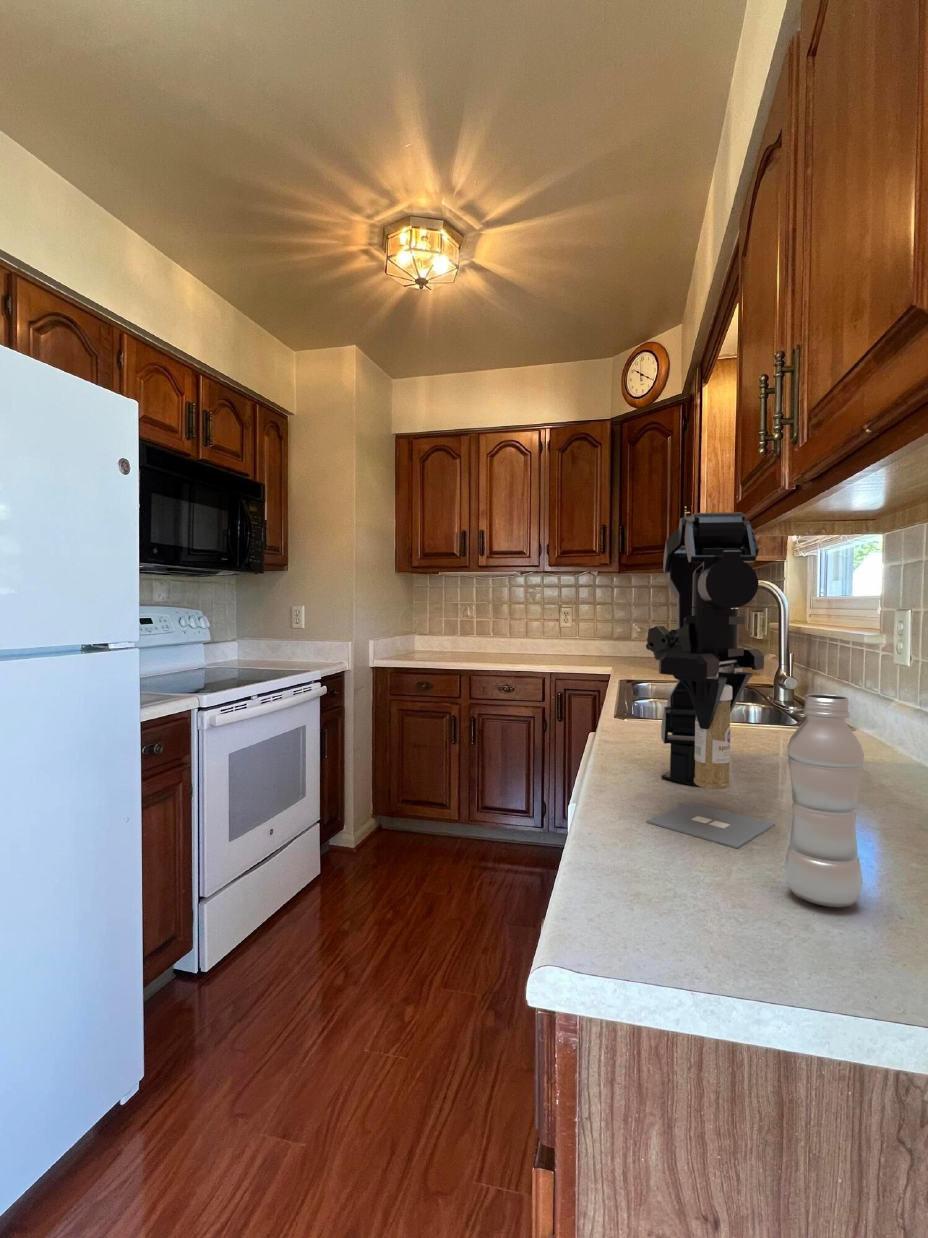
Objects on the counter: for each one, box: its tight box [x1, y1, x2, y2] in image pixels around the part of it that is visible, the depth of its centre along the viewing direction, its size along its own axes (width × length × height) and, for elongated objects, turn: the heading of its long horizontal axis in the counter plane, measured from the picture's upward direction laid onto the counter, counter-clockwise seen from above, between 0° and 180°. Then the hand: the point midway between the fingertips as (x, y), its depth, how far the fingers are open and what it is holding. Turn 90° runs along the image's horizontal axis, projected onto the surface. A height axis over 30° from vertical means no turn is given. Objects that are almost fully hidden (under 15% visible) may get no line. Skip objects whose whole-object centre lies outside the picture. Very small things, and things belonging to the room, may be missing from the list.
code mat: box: [645, 801, 776, 850], centre depth 82 cm, size 12×12×1 cm
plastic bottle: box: [784, 693, 865, 908], centre depth 60 cm, size 6×7×20 cm
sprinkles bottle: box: [694, 684, 732, 790], centre depth 81 cm, size 5×5×13 cm
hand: (712, 726), depth 81 cm, fingers closed on sprinkles bottle, 4 cm apart
